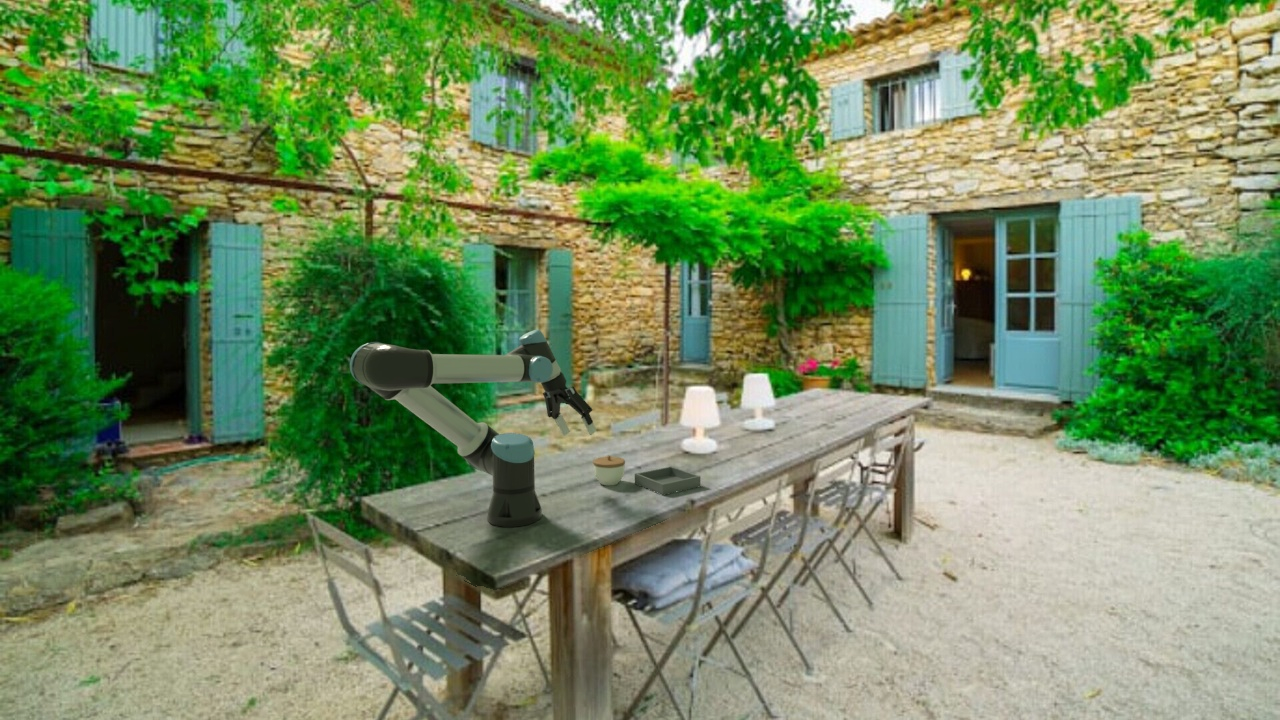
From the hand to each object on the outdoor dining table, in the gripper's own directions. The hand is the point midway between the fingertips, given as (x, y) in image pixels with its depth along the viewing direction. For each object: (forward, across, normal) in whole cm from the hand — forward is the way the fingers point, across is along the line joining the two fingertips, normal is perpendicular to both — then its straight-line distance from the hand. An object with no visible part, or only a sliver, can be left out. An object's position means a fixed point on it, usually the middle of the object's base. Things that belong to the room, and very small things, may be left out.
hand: (579, 433), depth 203 cm
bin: (+29, -15, -12) cm, 34 cm away
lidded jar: (+22, +2, -2) cm, 22 cm away
